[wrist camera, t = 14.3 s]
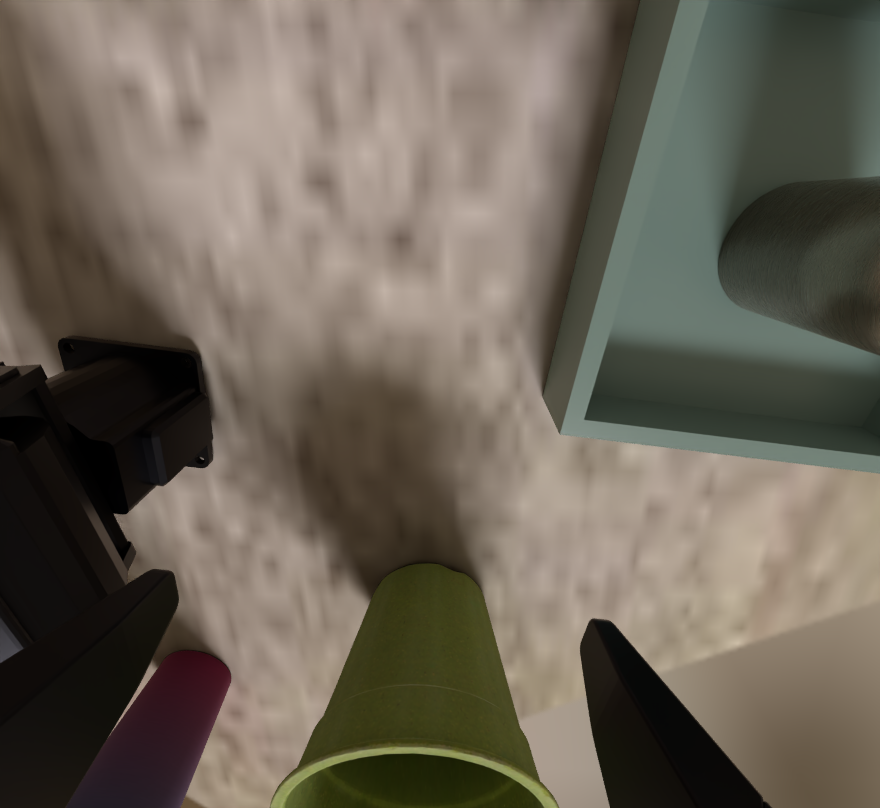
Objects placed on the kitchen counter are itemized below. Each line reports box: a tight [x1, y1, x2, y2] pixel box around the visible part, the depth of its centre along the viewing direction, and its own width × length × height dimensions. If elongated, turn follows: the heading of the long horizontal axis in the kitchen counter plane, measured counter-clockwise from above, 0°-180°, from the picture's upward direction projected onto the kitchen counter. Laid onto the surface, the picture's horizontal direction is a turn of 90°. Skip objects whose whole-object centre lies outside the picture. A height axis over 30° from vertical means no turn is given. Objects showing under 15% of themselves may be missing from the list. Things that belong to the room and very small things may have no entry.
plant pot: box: [270, 563, 559, 808], centre depth 22 cm, size 12×12×11 cm
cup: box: [66, 650, 231, 808], centre depth 24 cm, size 7×7×15 cm
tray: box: [543, 0, 880, 473], centre depth 16 cm, size 16×16×4 cm
